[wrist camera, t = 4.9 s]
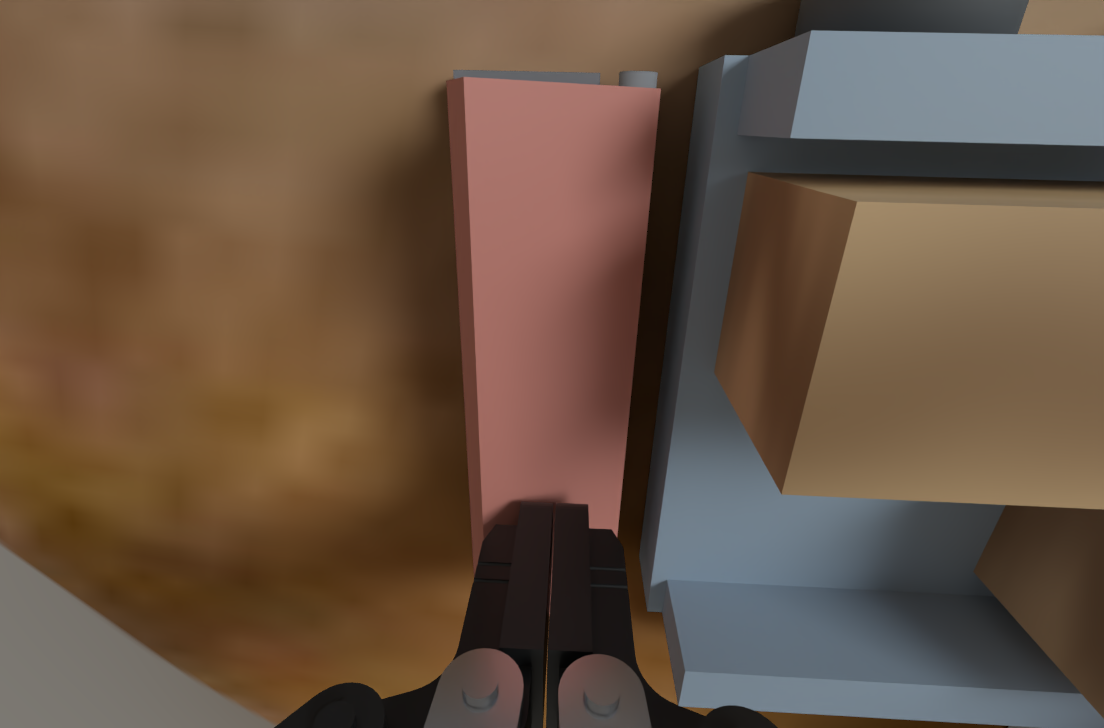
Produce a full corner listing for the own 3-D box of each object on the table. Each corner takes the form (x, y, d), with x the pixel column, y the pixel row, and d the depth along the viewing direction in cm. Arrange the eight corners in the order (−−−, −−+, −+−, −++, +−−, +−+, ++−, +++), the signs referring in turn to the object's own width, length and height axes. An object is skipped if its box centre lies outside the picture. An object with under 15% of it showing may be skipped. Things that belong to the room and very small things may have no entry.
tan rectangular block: (748, 171, 9) (856, 201, 6) (1115, 181, 9) (1472, 219, 5) (714, 372, 11) (781, 495, 7) (1024, 384, 11) (1251, 516, 7)
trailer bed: (457, -28, 10) (373, -135, 6) (1519, -12, 9) (2254, -119, 5) (484, 583, 17) (453, 732, 13) (1102, 615, 16) (1282, 783, 12)
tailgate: (643, 75, 10) (441, 61, 8) (684, 70, 9) (462, 52, 7) (602, 562, 15) (473, 607, 14) (625, 594, 14) (488, 647, 13)
